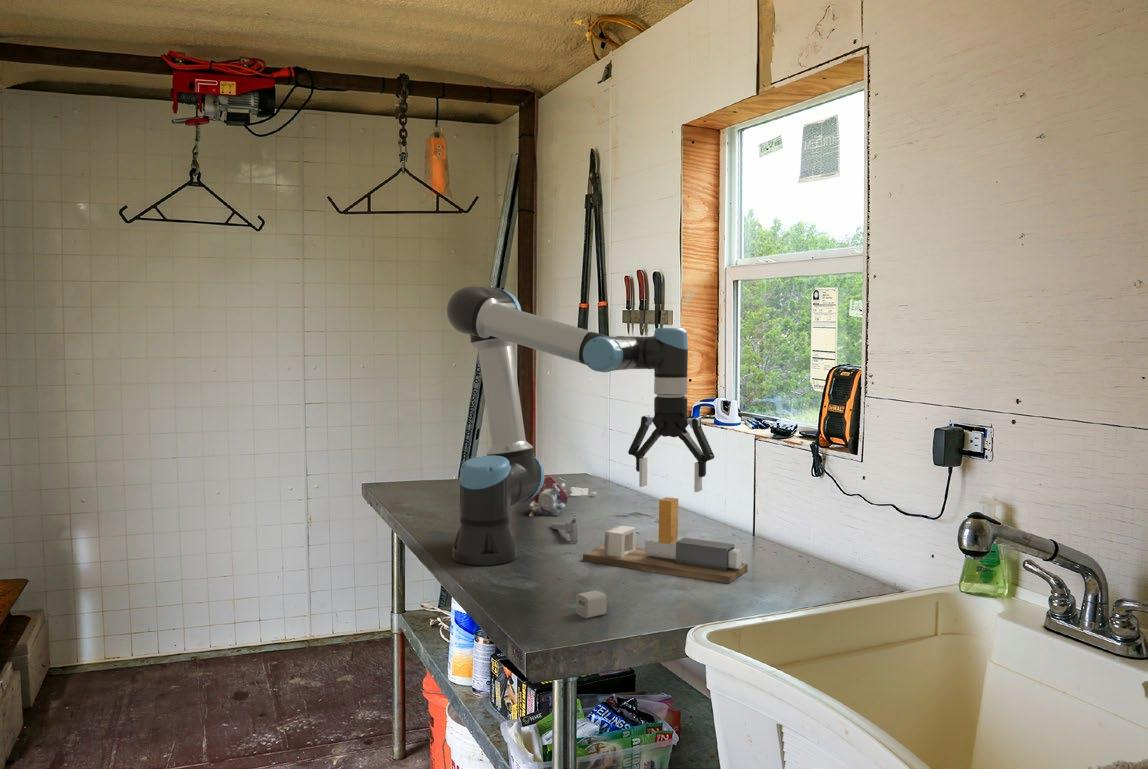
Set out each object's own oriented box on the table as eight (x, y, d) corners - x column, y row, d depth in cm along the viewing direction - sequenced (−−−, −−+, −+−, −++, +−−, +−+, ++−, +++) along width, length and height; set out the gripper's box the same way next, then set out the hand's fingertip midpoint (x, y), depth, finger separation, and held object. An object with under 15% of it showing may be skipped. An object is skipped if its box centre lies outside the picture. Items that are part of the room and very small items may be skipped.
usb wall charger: (575, 613, 172) (576, 593, 171) (604, 607, 175) (605, 587, 175) (587, 619, 168) (588, 598, 168) (617, 612, 172) (617, 592, 172)
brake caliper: (571, 501, 268) (567, 473, 260) (566, 529, 260) (562, 502, 252) (534, 499, 270) (529, 472, 262) (528, 528, 262) (523, 500, 254)
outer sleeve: (726, 571, 196) (726, 549, 196) (675, 563, 202) (675, 542, 202) (733, 566, 201) (734, 544, 200) (684, 558, 206) (684, 537, 206)
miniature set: (486, 495, 285) (488, 494, 297) (596, 502, 287) (593, 501, 299) (488, 475, 286) (490, 475, 298) (597, 482, 287) (594, 481, 299)
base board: (729, 583, 192) (729, 576, 192) (582, 560, 210) (582, 554, 210) (747, 570, 203) (747, 564, 203) (606, 549, 220) (606, 543, 220)
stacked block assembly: (735, 568, 196) (737, 509, 195) (644, 555, 206) (645, 498, 206) (741, 564, 199) (743, 505, 198) (651, 551, 210) (652, 495, 209)
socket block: (621, 557, 207) (621, 533, 207) (604, 554, 210) (604, 531, 209) (635, 550, 214) (636, 527, 214) (619, 547, 216) (619, 525, 216)
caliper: (577, 544, 226) (577, 520, 226) (573, 544, 226) (573, 520, 226) (553, 527, 246) (553, 504, 245) (549, 527, 245) (549, 504, 245)
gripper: (728, 396, 200) (728, 490, 202) (628, 392, 213) (628, 481, 214) (717, 398, 194) (716, 496, 195) (614, 394, 206) (614, 486, 207)
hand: (670, 488), depth 205 cm, fingers open, 13 cm apart
